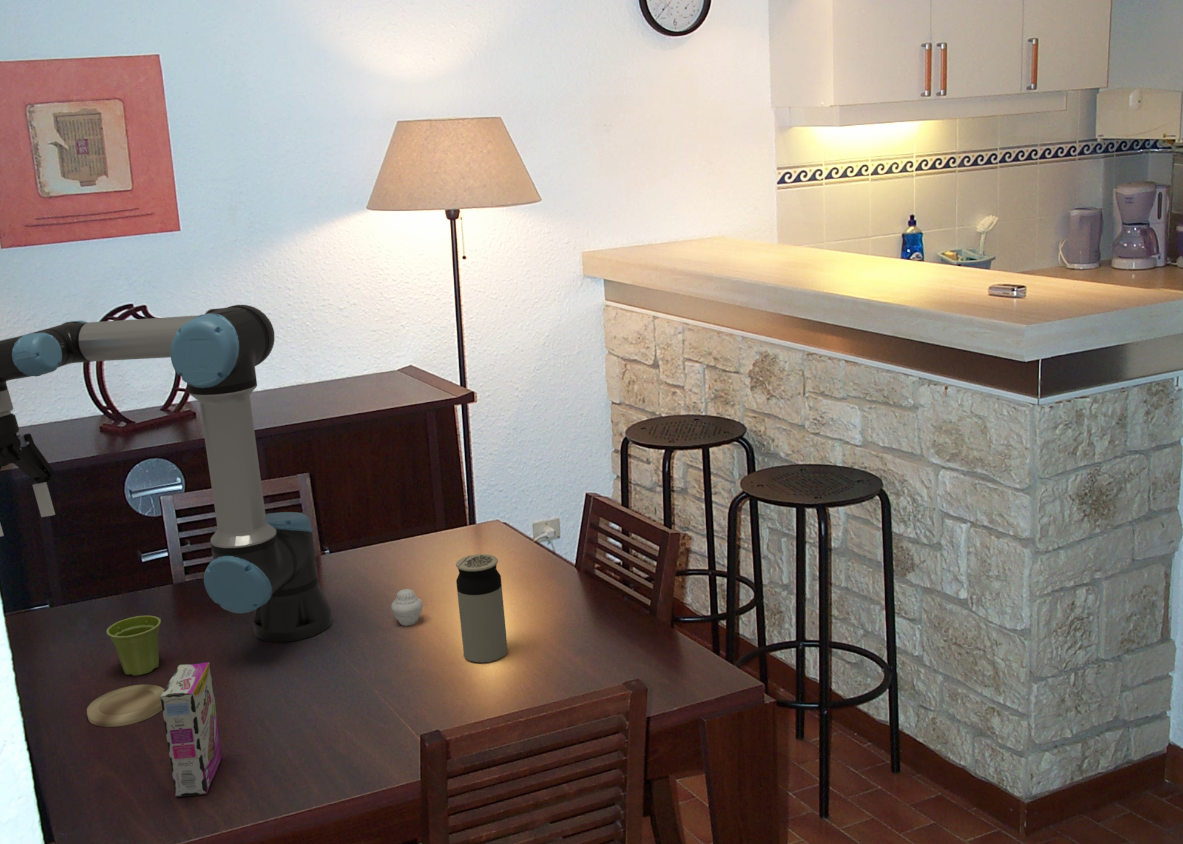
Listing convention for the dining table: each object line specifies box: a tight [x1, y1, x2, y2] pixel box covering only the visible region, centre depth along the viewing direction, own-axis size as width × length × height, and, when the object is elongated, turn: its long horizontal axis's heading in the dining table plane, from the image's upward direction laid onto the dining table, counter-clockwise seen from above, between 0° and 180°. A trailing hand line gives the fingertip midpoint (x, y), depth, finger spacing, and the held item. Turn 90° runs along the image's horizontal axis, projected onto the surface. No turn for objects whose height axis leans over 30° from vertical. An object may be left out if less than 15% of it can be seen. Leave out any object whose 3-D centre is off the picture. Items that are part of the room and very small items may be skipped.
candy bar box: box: [160, 661, 223, 798], centre depth 179 cm, size 11×5×16 cm, turn 5°
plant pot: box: [106, 615, 162, 677], centre depth 220 cm, size 9×9×9 cm
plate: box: [86, 684, 165, 728], centre depth 205 cm, size 13×13×1 cm
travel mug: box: [455, 553, 509, 663], centre depth 215 cm, size 8×8×18 cm
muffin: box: [390, 588, 424, 627], centre depth 233 cm, size 6×6×7 cm
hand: (23, 526), depth 224 cm, fingers open, 13 cm apart
